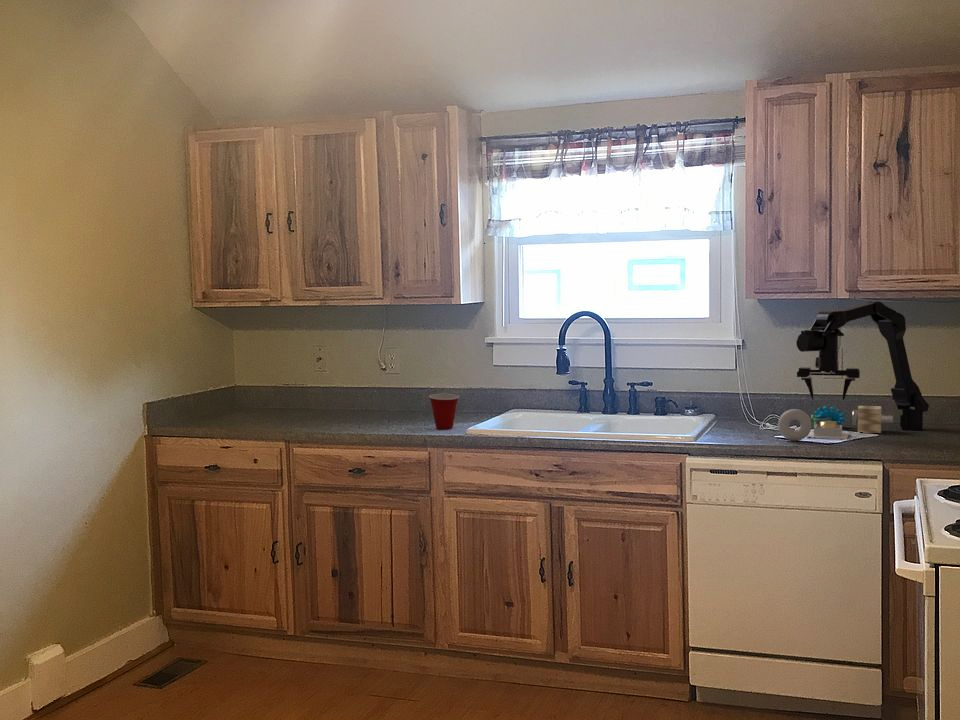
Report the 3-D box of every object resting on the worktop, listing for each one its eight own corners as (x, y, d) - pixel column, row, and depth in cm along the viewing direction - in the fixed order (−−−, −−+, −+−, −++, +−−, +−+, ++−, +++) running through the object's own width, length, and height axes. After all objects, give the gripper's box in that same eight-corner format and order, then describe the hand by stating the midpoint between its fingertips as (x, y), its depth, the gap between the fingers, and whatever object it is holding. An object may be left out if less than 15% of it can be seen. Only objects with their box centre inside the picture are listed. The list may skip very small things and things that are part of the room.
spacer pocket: (848, 434, 322) (848, 424, 321) (847, 439, 311) (847, 429, 310) (809, 432, 326) (809, 423, 326) (806, 438, 315) (806, 428, 315)
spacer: (837, 433, 320) (837, 421, 319) (836, 435, 315) (836, 423, 315) (820, 433, 322) (820, 420, 321) (819, 435, 317) (819, 422, 317)
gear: (849, 421, 339) (840, 403, 334) (847, 435, 336) (838, 417, 330) (816, 424, 346) (807, 406, 340) (814, 437, 343) (805, 419, 337)
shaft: (892, 425, 326) (892, 410, 326) (892, 427, 322) (892, 411, 321) (852, 424, 331) (852, 409, 331) (852, 426, 326) (852, 410, 326)
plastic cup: (436, 431, 345) (435, 397, 344) (424, 428, 355) (424, 394, 354) (464, 429, 350) (464, 395, 349) (453, 425, 360) (452, 392, 359)
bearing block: (881, 430, 329) (881, 406, 328) (880, 433, 322) (881, 409, 321) (858, 429, 332) (858, 405, 331) (857, 432, 324) (857, 408, 324)
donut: (778, 441, 309) (778, 409, 309) (777, 439, 313) (777, 408, 312) (812, 442, 307) (812, 409, 306) (811, 440, 310) (811, 408, 310)
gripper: (860, 349, 320) (860, 398, 321) (799, 349, 328) (799, 396, 329) (859, 351, 310) (859, 401, 311) (796, 351, 317) (796, 400, 318)
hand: (828, 399), depth 318 cm, fingers open, 9 cm apart
